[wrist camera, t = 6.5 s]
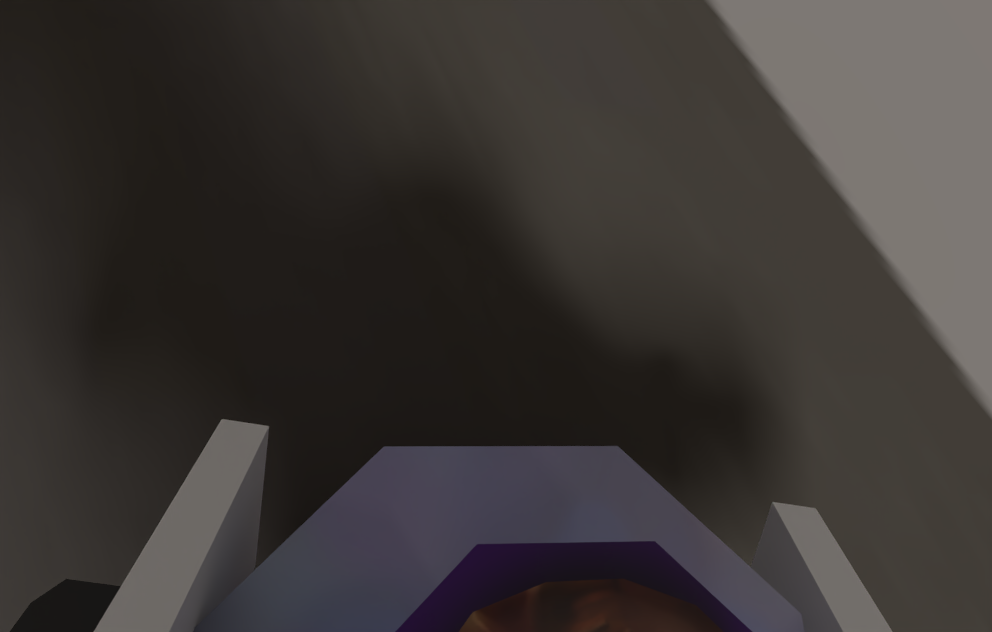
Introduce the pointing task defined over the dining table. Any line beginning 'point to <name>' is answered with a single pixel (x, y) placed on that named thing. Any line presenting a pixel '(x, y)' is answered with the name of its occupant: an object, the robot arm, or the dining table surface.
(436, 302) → the dining table surface
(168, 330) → the dining table surface
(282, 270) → the dining table surface
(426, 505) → the potion bottle
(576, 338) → the dining table surface
